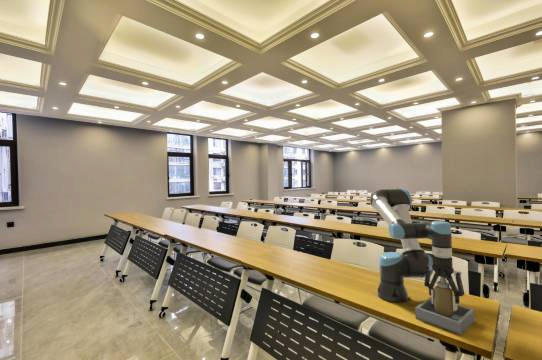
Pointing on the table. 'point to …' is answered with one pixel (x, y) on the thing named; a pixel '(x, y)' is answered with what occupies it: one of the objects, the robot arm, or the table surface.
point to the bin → (453, 324)
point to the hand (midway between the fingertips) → (444, 306)
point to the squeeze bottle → (443, 299)
